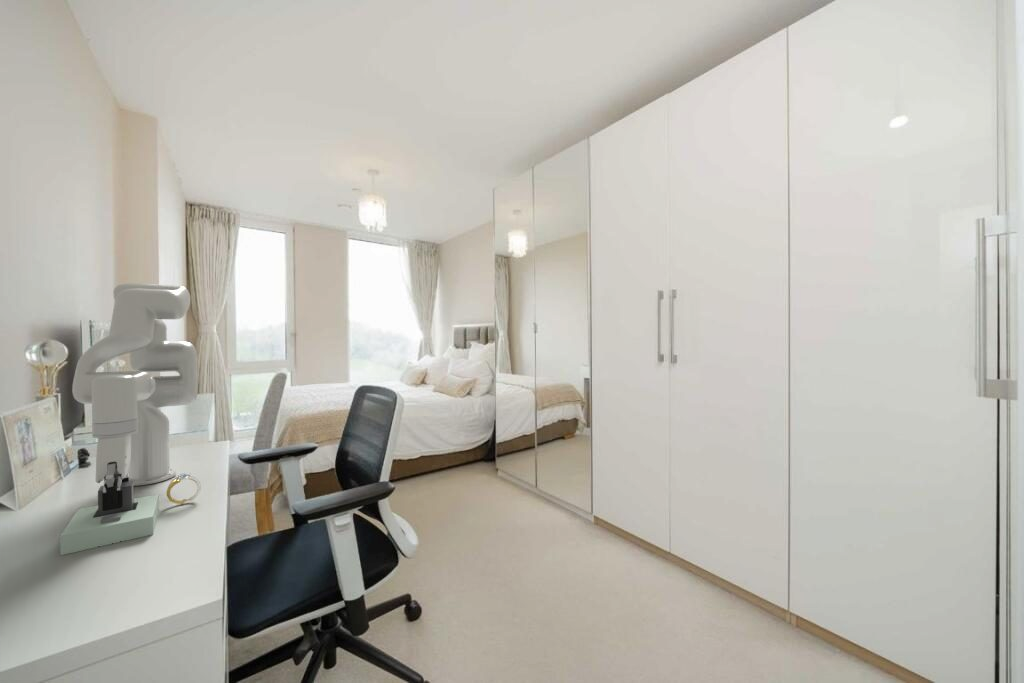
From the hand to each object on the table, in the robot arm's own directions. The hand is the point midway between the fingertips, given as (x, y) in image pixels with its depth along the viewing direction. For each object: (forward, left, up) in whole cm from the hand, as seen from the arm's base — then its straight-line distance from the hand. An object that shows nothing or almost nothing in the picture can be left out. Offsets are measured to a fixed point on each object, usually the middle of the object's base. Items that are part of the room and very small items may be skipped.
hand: (116, 501), depth 93 cm
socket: (+2, 0, -6) cm, 6 cm away
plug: (0, 0, -5) cm, 5 cm away
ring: (-7, +12, -6) cm, 15 cm away
